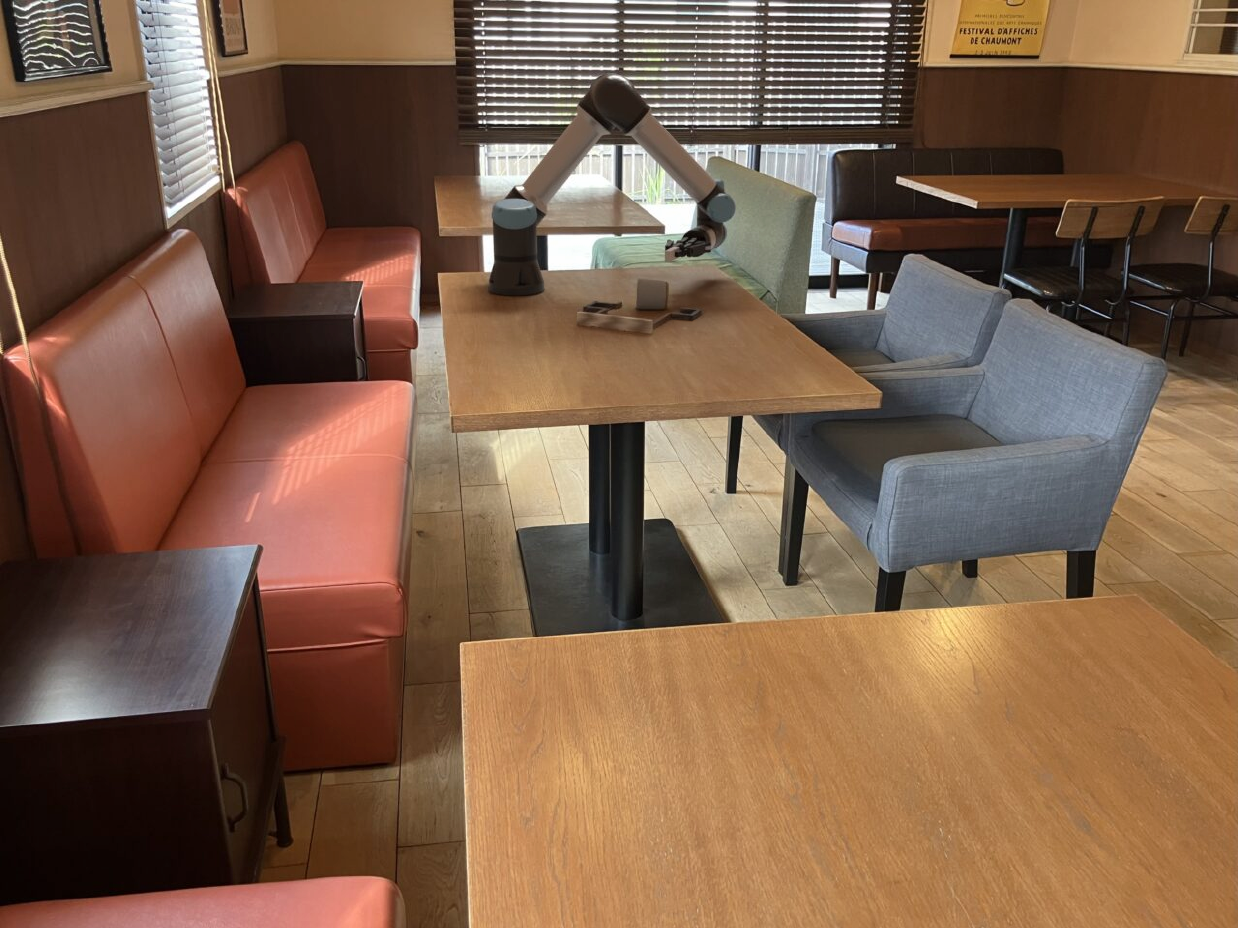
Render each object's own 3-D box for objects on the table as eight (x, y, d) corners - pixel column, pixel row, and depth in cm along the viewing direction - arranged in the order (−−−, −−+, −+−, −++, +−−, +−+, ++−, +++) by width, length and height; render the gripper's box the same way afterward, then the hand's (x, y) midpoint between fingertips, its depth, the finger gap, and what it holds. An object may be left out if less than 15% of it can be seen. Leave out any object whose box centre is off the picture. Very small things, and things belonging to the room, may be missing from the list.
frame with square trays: (560, 323, 247) (559, 310, 246) (599, 303, 267) (599, 291, 265) (668, 335, 237) (669, 323, 236) (701, 314, 256) (702, 302, 255)
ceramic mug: (668, 312, 258) (669, 281, 255) (636, 312, 258) (636, 281, 255) (666, 303, 268) (667, 274, 265) (635, 303, 268) (635, 273, 265)
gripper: (720, 256, 284) (691, 272, 264) (676, 253, 289) (644, 269, 269) (720, 229, 282) (691, 243, 262) (676, 226, 287) (644, 240, 267)
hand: (667, 256), depth 266 cm, fingers closed
